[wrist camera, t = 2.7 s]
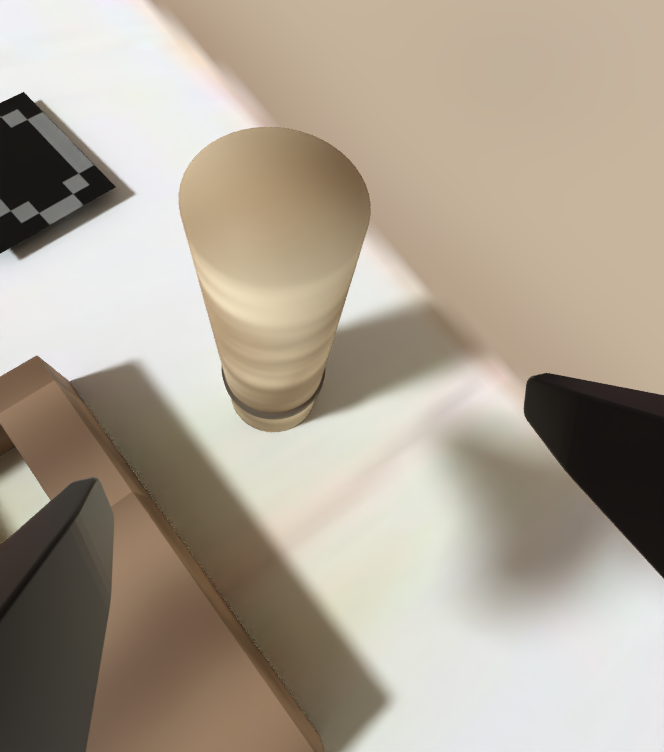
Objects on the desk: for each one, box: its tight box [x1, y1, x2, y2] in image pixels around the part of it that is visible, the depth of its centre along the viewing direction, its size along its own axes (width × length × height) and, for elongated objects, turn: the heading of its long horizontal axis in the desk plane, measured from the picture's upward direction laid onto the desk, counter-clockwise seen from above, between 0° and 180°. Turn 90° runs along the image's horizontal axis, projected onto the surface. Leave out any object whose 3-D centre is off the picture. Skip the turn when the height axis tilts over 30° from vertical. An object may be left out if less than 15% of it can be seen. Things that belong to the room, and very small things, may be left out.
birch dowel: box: [179, 127, 370, 432], centre depth 16 cm, size 4×4×13 cm
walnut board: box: [0, 356, 324, 752], centre depth 16 cm, size 18×12×3 cm, turn 40°
